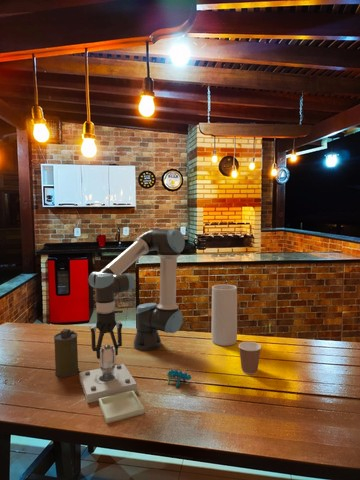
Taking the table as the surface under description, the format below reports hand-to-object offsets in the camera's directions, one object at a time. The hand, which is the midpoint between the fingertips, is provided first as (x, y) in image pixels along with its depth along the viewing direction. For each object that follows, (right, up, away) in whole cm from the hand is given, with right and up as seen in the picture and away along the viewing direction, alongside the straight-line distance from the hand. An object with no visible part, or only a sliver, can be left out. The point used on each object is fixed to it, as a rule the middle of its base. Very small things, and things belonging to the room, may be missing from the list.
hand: (107, 363), depth 146 cm
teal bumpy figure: (+30, -9, +2) cm, 32 cm away
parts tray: (+9, -11, -16) cm, 21 cm away
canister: (-22, -9, +14) cm, 27 cm away
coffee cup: (+63, -8, +13) cm, 65 cm away
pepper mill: (0, -6, +1) cm, 6 cm away
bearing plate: (0, -9, +1) cm, 10 cm away
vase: (+56, -5, +48) cm, 74 cm away
